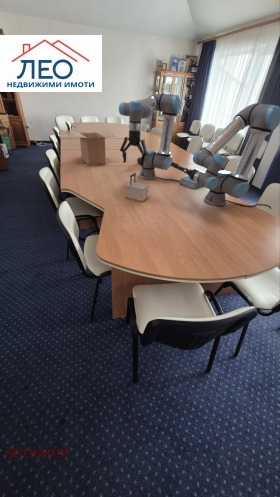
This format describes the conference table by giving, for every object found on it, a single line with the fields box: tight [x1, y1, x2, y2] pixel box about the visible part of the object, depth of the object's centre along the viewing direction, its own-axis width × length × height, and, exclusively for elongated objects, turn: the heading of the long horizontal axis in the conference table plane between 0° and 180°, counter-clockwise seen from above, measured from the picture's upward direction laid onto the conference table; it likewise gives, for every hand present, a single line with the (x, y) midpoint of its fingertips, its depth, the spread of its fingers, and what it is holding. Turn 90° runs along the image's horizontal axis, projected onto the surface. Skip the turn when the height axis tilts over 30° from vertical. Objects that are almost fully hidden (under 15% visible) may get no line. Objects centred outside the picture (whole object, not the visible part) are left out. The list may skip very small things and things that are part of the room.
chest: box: [125, 185, 149, 203], centre depth 165 cm, size 14×10×9 cm
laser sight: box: [136, 154, 143, 165], centre depth 236 cm, size 10×22×10 cm, turn 78°
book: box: [179, 175, 203, 190], centre depth 197 cm, size 23×16×5 cm
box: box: [70, 129, 114, 166], centre depth 229 cm, size 44×36×27 cm
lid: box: [125, 172, 149, 190], centre depth 160 cm, size 14×10×8 cm
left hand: (133, 164), depth 154 cm, fingers open, 13 cm apart
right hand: (178, 166), depth 157 cm, fingers open, 13 cm apart
